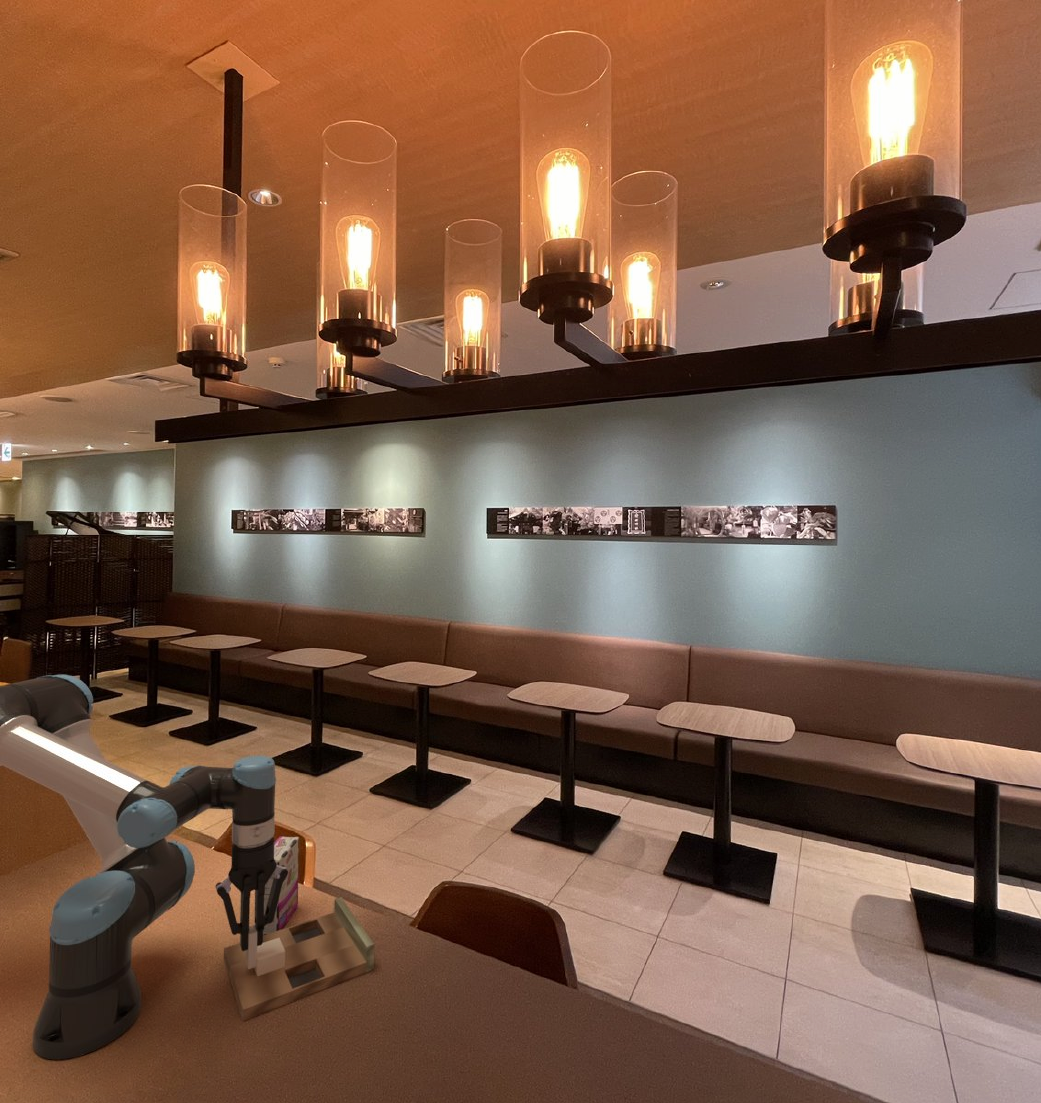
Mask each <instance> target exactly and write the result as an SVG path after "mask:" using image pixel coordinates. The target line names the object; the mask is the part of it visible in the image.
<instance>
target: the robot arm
mask: <svg viewBox="0 0 1041 1103" xmlns="http://www.w3.org/2000/svg"><path fill="white" fill-rule="evenodd" d="M93 703H94V697H93V694H92V691H91V690H90V688H89V687H88V686H87V684H86V683H84V682H83V681H82V680H81V679H79V678H77V677H76V676H73V675H69V674H54V675H52V674H51V675H50V674H49V675H43V676H39V677H38V676H37V677H36V678H31V679H26V680H22V681H18V682H13V683H9V684H8V683H7V684H3V685H0V767H2V766H3V767H5V768H7V769H9V770H11V771H13V772H15V773H17V774H19V775H21V776H22V777H25V778H27V779H30V780H32V781H33V782H35V783H37V784H39V785H42V786H43V787H45V788H47V789H49V790H51V791H53V792H56V793H58V794H59V795H61V796H62V797H63V799H64V800H65V802H66V804H67V806H68V807H69V808H70V810H71V811H72V813H73V816H74V817H75V819H76V820H77V822H78V824H79V825H80V827H81V828H82V831H84V834H85V835H86V837H87V838H88V839H89V841H90V843H91V845H92V847H93V848H94V849H95V851H96V853H97V855H98V856H99V858H100V860H101V866H100V869H99V871H98V873H95V875H94V876H92V877H90V876H88V877H85V878H84V879H81V880H80V881H77V882H76V883H75V884H72V886H70V887H69V888H67V889H66V890H65V891H64V892H63V893H62V894H61V895H60V896H59V897H58V899H56V902H55V903H54V906H53V909H52V914H51V921H50V923H49V924H50V925H49V968H48V969H49V973H48V991H47V992H48V993H46V994H47V995H46V996H45V1000H44V1002H43V1004H42V1007H41V1010H40V1012H39V1015H38V1017H37V1020H36V1023H35V1025H34V1029H33V1037H32V1039H33V1040H32V1041H33V1042H32V1044H33V1045H32V1046H33V1047H32V1048H33V1051H34V1052H35V1053H36V1055H38V1056H39V1057H41V1058H44V1059H48V1060H66V1059H72V1058H76V1057H81V1056H83V1055H86V1054H89V1053H91V1052H94V1051H97V1050H98V1049H101V1048H103V1047H105V1046H106V1045H108V1044H110V1043H111V1042H113V1041H114V1040H116V1039H118V1038H119V1037H120V1036H121V1035H123V1034H124V1033H125V1032H126V1031H127V1030H129V1029H130V1027H132V1026H133V1024H134V1023H135V1022H136V1021H137V1019H138V1017H139V1016H140V1012H141V1009H142V989H141V988H140V985H139V983H138V980H137V977H136V974H135V972H134V970H133V966H132V952H133V951H132V950H133V949H132V948H133V940H134V938H135V937H137V936H138V935H139V934H140V933H141V932H143V931H144V930H145V929H146V928H148V927H149V926H150V925H151V924H153V923H154V922H155V921H156V920H157V919H159V918H160V917H161V916H162V915H163V914H165V913H166V912H167V911H170V909H172V908H173V907H174V906H176V905H177V904H178V902H179V901H180V900H181V899H183V897H184V896H185V895H186V894H187V892H188V891H189V890H190V888H191V886H192V884H193V881H194V876H195V872H196V871H195V870H196V869H195V868H196V867H195V866H196V865H195V860H194V857H193V854H192V852H191V851H190V849H189V848H188V847H187V846H186V845H185V844H184V843H182V842H178V841H176V840H167V839H166V838H167V837H168V836H169V835H170V834H172V832H174V831H175V830H177V829H178V828H180V827H182V826H183V825H185V824H186V823H187V822H189V821H191V820H193V819H194V818H196V817H197V816H199V815H201V814H202V813H204V812H206V811H207V810H210V809H212V810H231V812H232V814H231V815H232V825H231V826H232V828H231V830H232V831H231V842H232V845H231V864H230V866H231V867H230V869H229V871H228V873H227V874H228V876H227V877H226V878H225V879H224V880H223V881H222V882H221V881H218V882H217V883H216V884H215V891H216V893H217V895H218V896H219V898H221V899H222V902H223V906H224V910H225V914H226V916H227V921H228V925H229V928H230V932H231V934H232V935H233V936H235V935H237V934H238V935H240V938H239V939H240V941H239V943H240V946H241V949H242V951H245V950H246V964H247V967H248V969H251V968H254V967H257V946H260V945H262V943H263V930H264V926H265V925H267V924H270V923H272V922H273V920H274V916H275V912H276V908H277V904H278V900H279V896H280V892H281V888H282V884H283V882H284V880H285V878H286V877H287V875H288V870H287V869H286V867H285V866H284V865H282V866H279V865H277V864H276V862H275V860H274V843H275V838H274V836H275V816H276V814H275V813H276V812H275V805H276V804H275V802H276V801H275V799H276V783H277V778H276V763H275V761H274V759H273V758H272V757H270V756H268V755H254V756H253V755H251V756H245V757H243V758H239V759H238V760H236V761H235V762H234V764H233V767H220V766H219V767H218V766H206V765H195V766H193V765H192V766H184V767H181V768H180V769H179V770H178V771H176V773H175V775H174V776H172V777H171V779H170V782H169V784H168V785H166V786H164V787H162V786H160V785H159V784H156V783H154V782H152V781H150V780H148V779H145V778H144V777H142V776H140V775H137V774H135V773H133V772H131V771H129V770H128V769H125V768H123V767H121V766H119V765H117V764H115V763H113V762H111V761H109V760H106V758H105V756H104V754H102V752H101V749H100V748H99V747H98V745H97V743H96V742H95V740H94V739H93V737H92V736H91V733H90V730H91V727H92V724H93V720H92V718H91V716H90V715H91V714H92V713H93V708H94V706H93V705H92V704H93ZM273 873H274V879H273V883H272V887H271V891H270V895H269V899H268V903H267V907H266V911H265V915H264V893H265V885H266V883H267V882H268V880H269V879H270V877H271V876H272V874H273ZM231 884H232V885H233V886H235V888H236V889H237V890H238V891H239V892H240V909H239V910H240V911H239V912H240V913H239V914H240V916H239V920H240V921H239V922H238V921H237V918H236V914H235V913H236V912H235V911H234V907H233V903H232V899H231V895H230V892H231V890H232V886H231ZM252 891H254V925H250V914H251V913H250V909H251V906H250V904H251V903H250V902H251V901H250V900H251V892H252Z"/></svg>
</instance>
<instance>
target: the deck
mask: <svg viewBox="0 0 1041 1103" xmlns="http://www.w3.org/2000/svg"><path fill="white" fill-rule="evenodd" d="M333 910H334V911H333V912H331V913H327V914H325V915H322V916H319V917H316V918H313V919H309V920H307V921H303V922H301V923H297V924H294V925H291V926H288V927H286V928H283V929H282V930H278V931H275V932H272V933H269V934H266V935H263V943H264V942H267V941H270V940H273V939H277V938H280V940H281V943H282V945H283V947H284V949H285V967H283V968H280V969H277V970H274V971H272V972H269V973H266V974H263V975H260V976H257V974H256V972H255V969H254V968H251V969H248V967H247V964H246V950H245V951H242V949H241V946H240V942H239V943H238V942H237V943H235V944H233V945H230V946H226V947H224V948H223V961H224V963H225V966H226V967H225V968H226V970H227V973H228V976H229V980H230V984H231V986H232V989H233V993H234V998H235V1001H236V1003H237V1008H238V1011H239V1013H240V1014H239V1015H240V1017H241V1020H242V1022H244V1021H247V1020H249V1019H252V1018H255V1017H257V1016H260V1015H263V1014H265V1013H267V1012H270V1011H272V1010H275V1009H278V1008H280V1007H282V1006H285V1005H289V1004H290V1003H292V1002H296V1001H299V1000H301V999H303V998H305V997H308V996H311V995H314V994H315V993H319V992H320V991H324V990H326V989H328V988H331V987H334V986H335V985H338V984H341V983H343V982H346V981H349V980H350V979H351V980H352V979H353V978H356V977H358V976H361V975H363V974H366V973H369V972H371V971H374V966H375V965H374V962H375V943H374V942H373V940H372V939H371V938H370V936H369V935H368V933H367V932H366V931H365V929H364V927H363V926H362V924H361V923H360V922H359V920H358V919H357V918H356V916H355V915H354V913H353V912H352V910H351V909H350V907H349V906H348V904H347V903H346V901H345V900H344V898H343V897H342V896H340V897H337V898H334V909H333Z"/></svg>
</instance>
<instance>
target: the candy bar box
mask: <svg viewBox="0 0 1041 1103" xmlns="http://www.w3.org/2000/svg"><path fill="white" fill-rule="evenodd" d="M299 845H300V838H299V836H279V837H278V838H277V839H276V840H274V860H275V862H276V864H277V865H279V866H282V865H284V866H285V867H286V869H287V870H288V875H287V877H286V878H285V880H284V882H283V884H282V888H281V892H280V896H279V900H278V904H277V908H276V912H275V916H274V920H273V922H272V923H270V924H267V925H265V926H264V930H263V935H266V934H269V933H272V932H275V931H278V930H282V929H284V927H285V926H286V924H287V923H288V921H289V919H290V918H291V916H292V915H293V914H294V913H295V911H296V910H297V908H298V907H299V857H300V856H299V853H300V852H299V851H300V850H299V848H300V846H299ZM273 879H274V873H273V874H272V876H271V877H270V879H269V880H268V882H267V883H266V885H265V893H264V915H265V911H266V907H267V903H268V899H269V895H270V891H271V887H272V883H273Z"/></svg>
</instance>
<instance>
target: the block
mask: <svg viewBox="0 0 1041 1103" xmlns="http://www.w3.org/2000/svg"><path fill="white" fill-rule="evenodd" d="M283 967H285V949H284V947H283V945H282V943H281V940H280V938H277V939H273V940H270V941H267V942H264V943H262V945H260V946H257V967H254V969H255V972H256V974H257V976H260V975H263V974H266V973H269V972H272V971H274V970H277V969H280V968H283Z"/></svg>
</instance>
